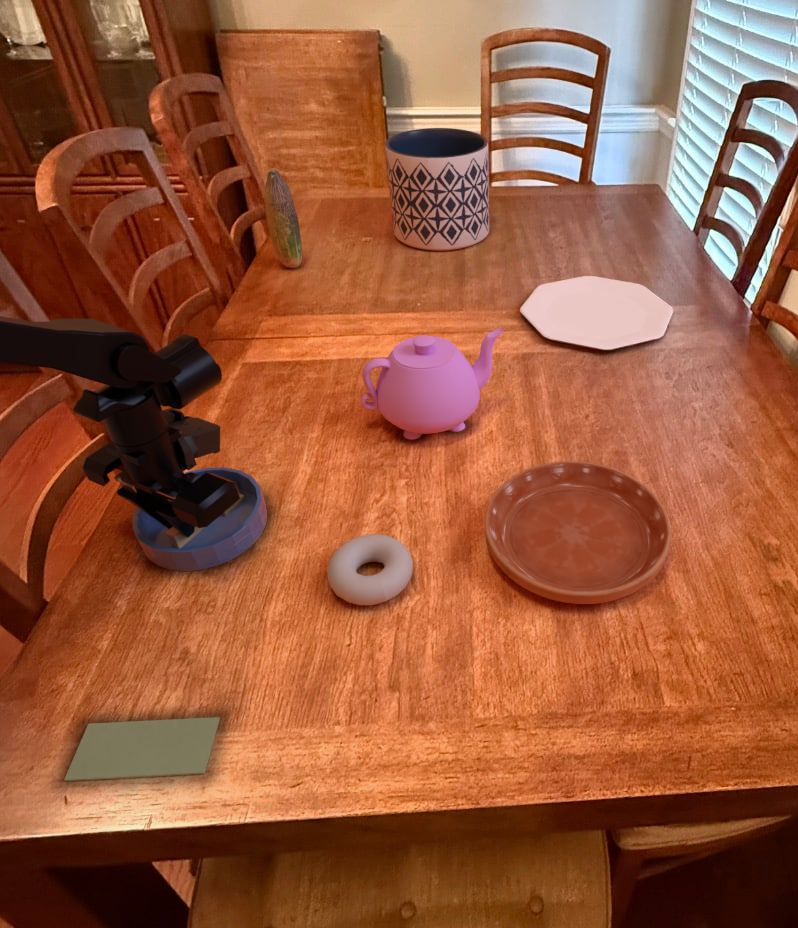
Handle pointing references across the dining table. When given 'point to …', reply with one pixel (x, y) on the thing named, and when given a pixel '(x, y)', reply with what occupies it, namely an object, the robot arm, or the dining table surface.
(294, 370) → the dining table surface
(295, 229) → the vegetable
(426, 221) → the planter
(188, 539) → the beige slabs
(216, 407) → the dining table surface
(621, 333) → the plate
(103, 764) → the mat
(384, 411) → the teapot
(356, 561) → the donut
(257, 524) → the bowl
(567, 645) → the dining table surface
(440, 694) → the dining table surface
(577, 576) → the saucer
